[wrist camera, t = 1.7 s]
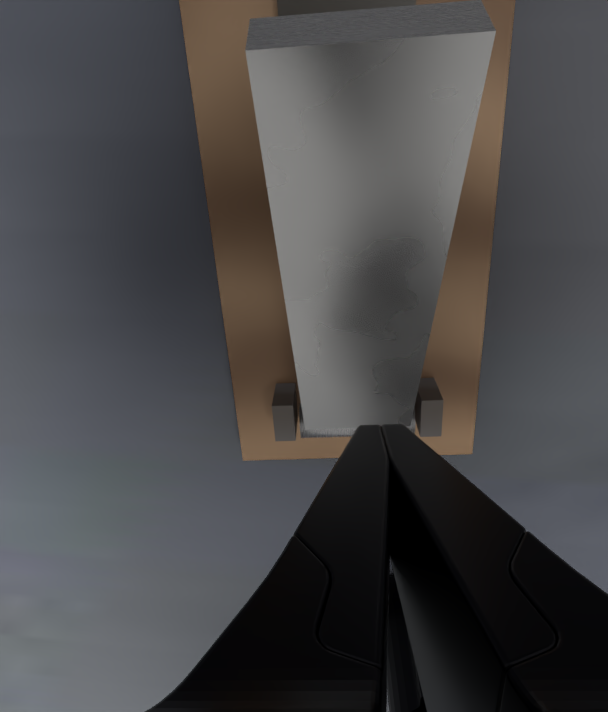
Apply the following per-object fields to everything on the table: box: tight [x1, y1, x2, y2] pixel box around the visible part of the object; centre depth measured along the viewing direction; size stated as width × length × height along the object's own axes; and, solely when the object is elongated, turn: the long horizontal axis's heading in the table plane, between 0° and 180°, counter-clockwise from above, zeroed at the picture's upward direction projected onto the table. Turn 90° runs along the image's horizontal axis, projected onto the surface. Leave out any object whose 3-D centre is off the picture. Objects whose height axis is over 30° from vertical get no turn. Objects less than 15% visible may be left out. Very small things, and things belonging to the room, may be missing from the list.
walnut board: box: [179, 0, 515, 461], centre depth 18 cm, size 20×10×3 cm, turn 4°
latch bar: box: [245, 0, 496, 438], centre depth 14 cm, size 15×4×1 cm, turn 5°
